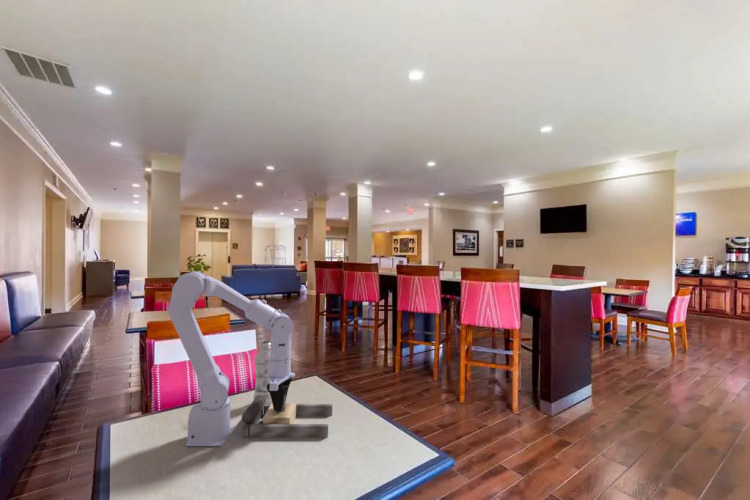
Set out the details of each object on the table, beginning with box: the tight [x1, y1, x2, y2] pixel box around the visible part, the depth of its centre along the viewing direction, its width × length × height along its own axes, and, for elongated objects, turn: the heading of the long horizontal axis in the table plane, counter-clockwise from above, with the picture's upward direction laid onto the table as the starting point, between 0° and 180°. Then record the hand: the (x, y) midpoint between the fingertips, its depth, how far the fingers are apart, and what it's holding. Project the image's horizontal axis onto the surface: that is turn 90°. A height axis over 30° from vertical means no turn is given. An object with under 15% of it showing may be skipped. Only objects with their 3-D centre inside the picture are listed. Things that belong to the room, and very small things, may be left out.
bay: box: [241, 395, 333, 439], centre depth 96 cm, size 23×14×7 cm, turn 92°
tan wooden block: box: [262, 397, 297, 424], centre depth 96 cm, size 7×9×8 cm
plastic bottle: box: [253, 340, 272, 406], centre depth 112 cm, size 6×7×20 cm
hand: (279, 407), depth 96 cm, fingers closed on tan wooden block, 3 cm apart
